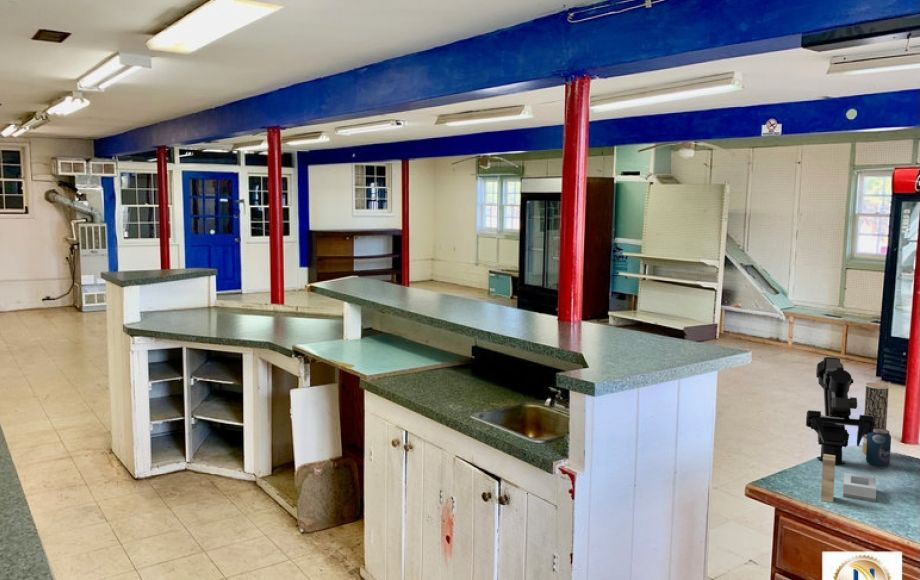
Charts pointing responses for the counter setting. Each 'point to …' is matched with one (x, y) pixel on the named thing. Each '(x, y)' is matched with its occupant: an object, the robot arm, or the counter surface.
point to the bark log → (876, 406)
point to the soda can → (878, 448)
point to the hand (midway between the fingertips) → (841, 443)
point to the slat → (828, 478)
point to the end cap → (859, 487)
